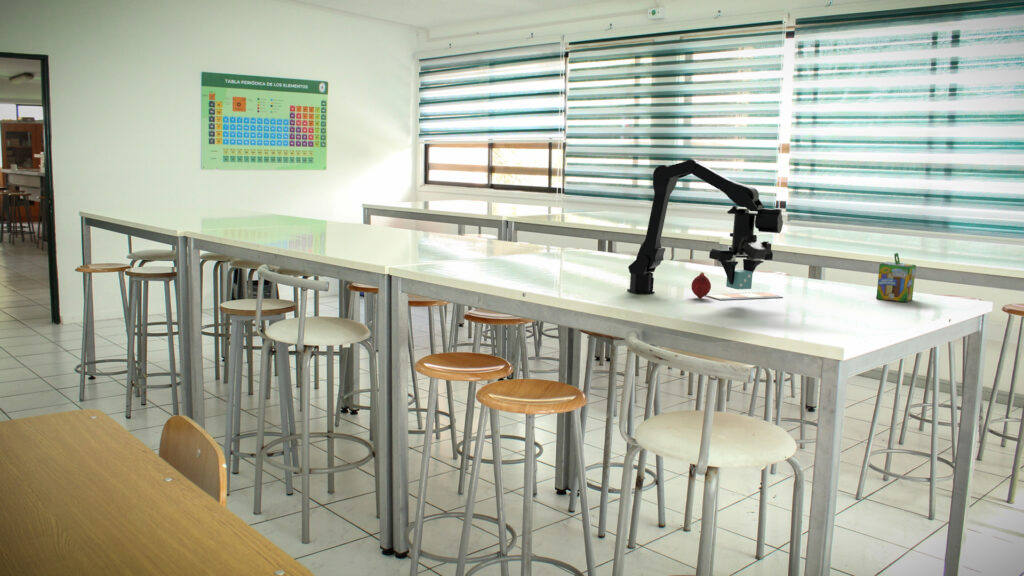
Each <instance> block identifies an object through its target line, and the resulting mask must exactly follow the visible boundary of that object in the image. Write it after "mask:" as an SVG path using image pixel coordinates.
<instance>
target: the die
mask: <svg viewBox="0 0 1024 576" xmlns="http://www.w3.org/2000/svg"><path fill="white" fill-rule="evenodd" d="M753 274H754V272H751V271H747V270H744V269H742V268H741V269H740V268H739V269H736V268H735V274H734V282H733V284H730V283H729V281H728V278H727V277H726V284H725V286H726V287H727V288H731V289H734V290H751V289H752V287H753V286H752V283H753Z"/></svg>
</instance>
